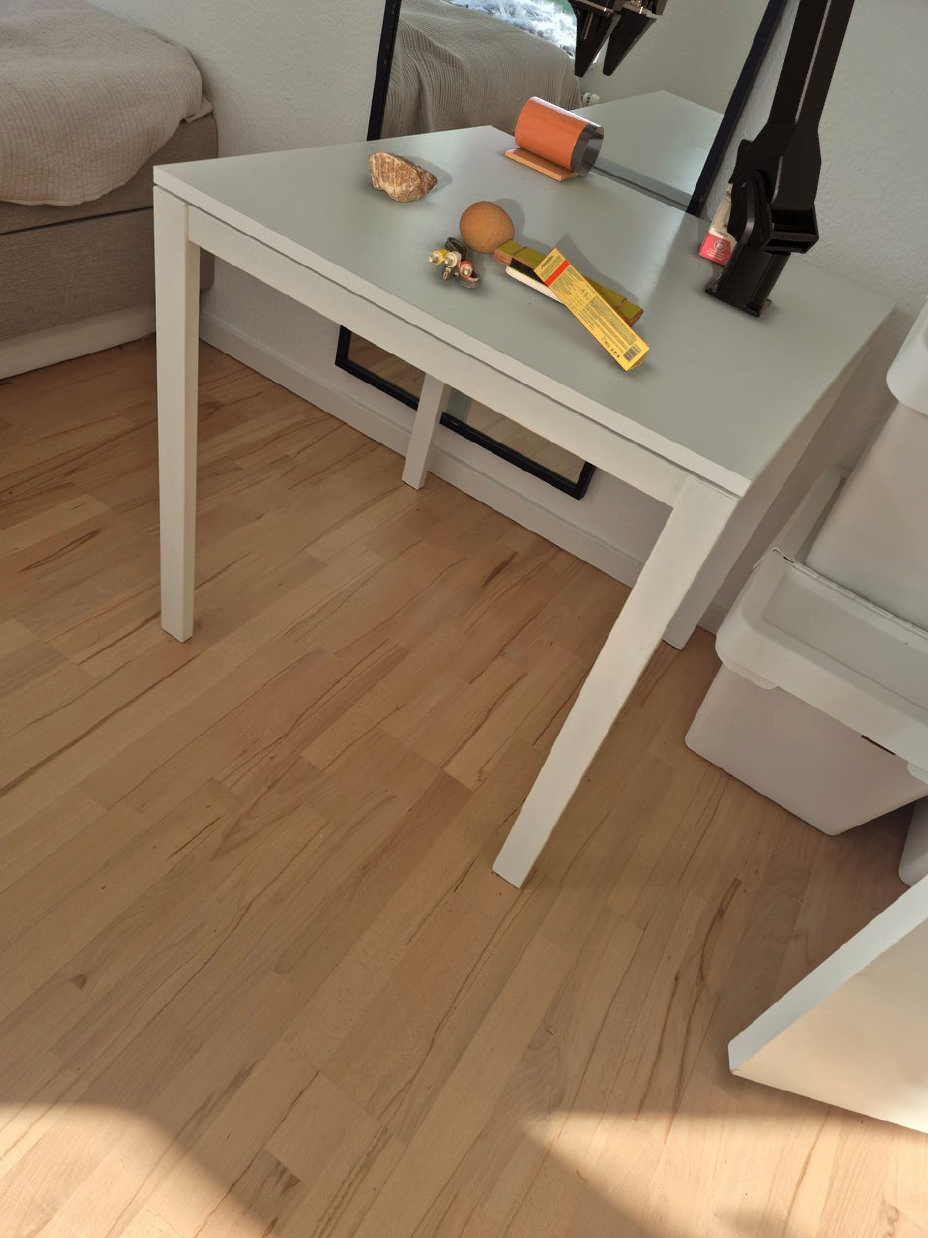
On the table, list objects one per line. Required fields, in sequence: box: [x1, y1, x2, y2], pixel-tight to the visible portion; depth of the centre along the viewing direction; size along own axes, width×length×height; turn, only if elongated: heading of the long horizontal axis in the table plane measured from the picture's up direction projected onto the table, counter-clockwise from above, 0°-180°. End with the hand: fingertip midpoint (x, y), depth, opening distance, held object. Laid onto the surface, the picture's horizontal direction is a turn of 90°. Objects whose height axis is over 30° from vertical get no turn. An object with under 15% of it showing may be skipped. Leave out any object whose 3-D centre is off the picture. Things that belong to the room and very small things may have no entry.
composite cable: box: [428, 236, 481, 289], centre depth 75 cm, size 10×5×2 cm, turn 169°
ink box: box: [698, 184, 774, 267], centre depth 97 cm, size 9×5×12 cm, turn 68°
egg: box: [459, 200, 516, 254], centre depth 79 cm, size 4×4×6 cm
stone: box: [367, 151, 439, 203], centre depth 84 cm, size 7×6×5 cm
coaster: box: [504, 147, 579, 182], centre depth 110 cm, size 8×8×1 cm
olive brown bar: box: [492, 240, 645, 329], centre depth 76 cm, size 15×3×2 cm, turn 60°
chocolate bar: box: [534, 247, 651, 372], centre depth 71 cm, size 3×12×2 cm
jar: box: [514, 96, 605, 177], centre depth 108 cm, size 10×6×6 cm, turn 59°
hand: (592, 75), depth 101 cm, fingers open, 9 cm apart
